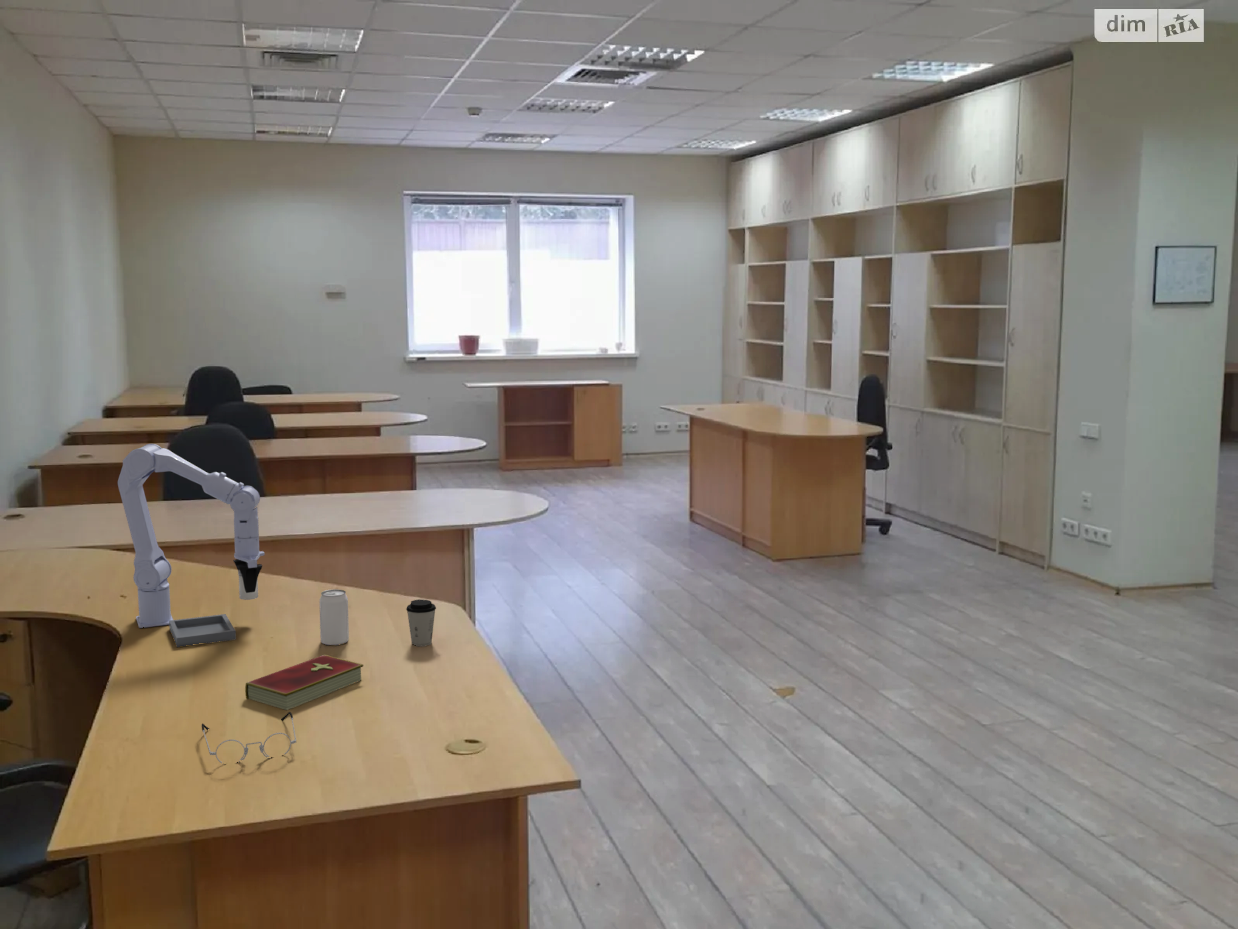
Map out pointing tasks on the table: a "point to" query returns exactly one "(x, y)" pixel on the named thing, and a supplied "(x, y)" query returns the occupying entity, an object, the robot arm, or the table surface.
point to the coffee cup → (421, 621)
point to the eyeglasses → (252, 743)
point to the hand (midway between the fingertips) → (248, 589)
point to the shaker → (243, 593)
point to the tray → (202, 630)
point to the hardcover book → (303, 682)
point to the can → (334, 617)
